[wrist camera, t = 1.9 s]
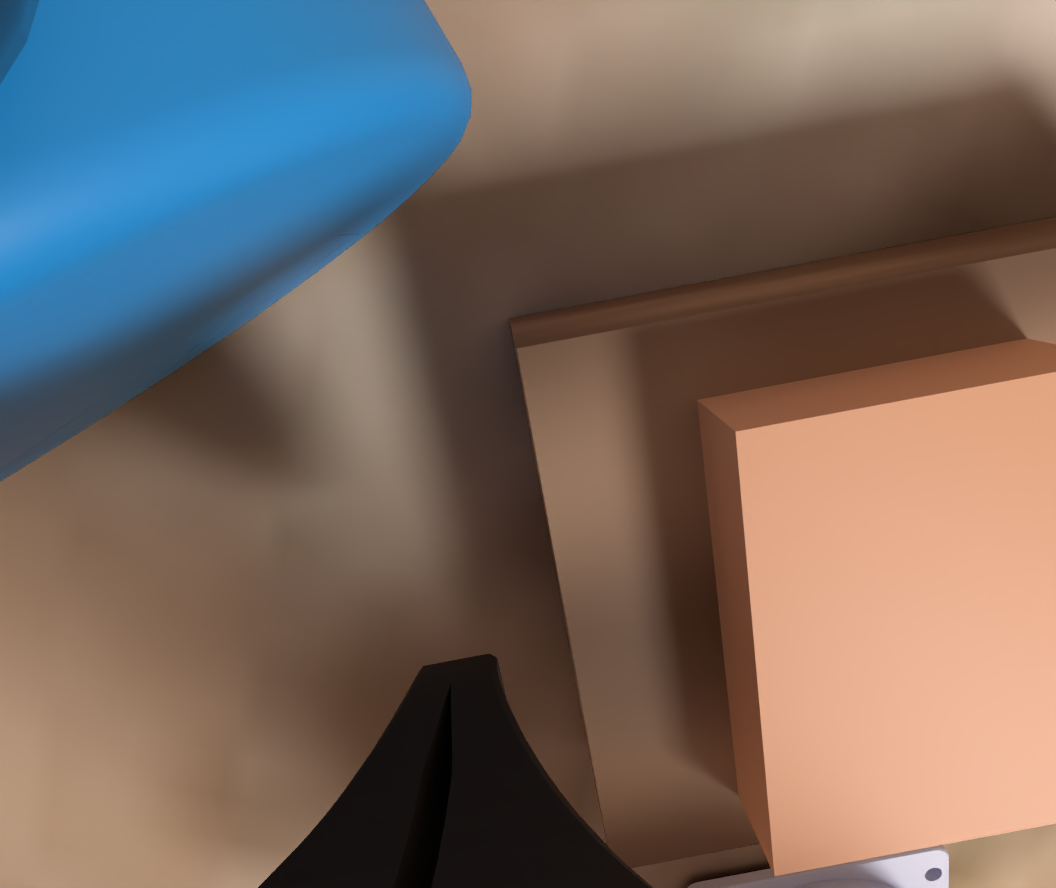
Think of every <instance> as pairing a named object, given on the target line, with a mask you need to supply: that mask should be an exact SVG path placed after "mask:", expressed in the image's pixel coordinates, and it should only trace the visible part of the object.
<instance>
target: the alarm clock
mask: <svg viewBox="0 0 1056 888" xmlns="http://www.w3.org/2000/svg"><path fill="white" fill-rule="evenodd" d="M470 114H471V87H470V85H469V82H468V79H467V77H466V74H465V71H464V69H463V66H462V63H461V61H460V60H459V58H458V56H457V55H456V53H455V51H454V50H453V48H452V46H451V45H450V43H449V41H448V40H447V38H446V36H445V34H444V33H443V31H442V29H441V28H440V26H439V24H438V23H437V21H436V19H435V18H434V16H433V14H432V12H431V11H430V9H429V7H428V6H427V4H426V2H425V1H424V0H0V481H1V480H3V479H5V478H6V477H8V476H10V475H11V474H13V473H15V472H16V471H18V470H19V469H21V468H23V467H24V466H26V465H28V464H29V463H31V462H33V461H34V460H36V459H37V458H39V457H41V456H42V455H44V454H45V453H47V452H49V451H50V450H52V449H54V448H55V447H57V446H58V445H60V444H62V443H63V442H65V441H66V440H68V439H70V438H71V437H73V436H74V435H76V434H78V433H79V432H81V431H82V430H84V429H86V428H87V427H89V426H90V425H92V424H93V423H95V422H97V421H98V420H100V419H101V418H103V417H105V416H106V415H108V414H109V413H111V412H112V411H114V410H116V409H117V408H119V407H120V406H122V405H123V404H125V403H126V402H128V401H130V400H131V399H133V398H134V397H136V396H137V395H139V394H140V393H142V392H143V391H145V390H147V389H148V388H150V387H151V386H153V385H154V384H156V383H157V382H159V381H160V380H162V379H163V378H165V377H166V376H168V375H169V374H171V373H172V372H174V371H176V370H177V369H179V368H180V367H182V366H183V365H185V364H186V363H188V362H189V361H191V360H192V359H194V358H195V357H197V356H198V355H200V354H201V353H203V352H204V351H206V350H207V349H208V348H210V347H211V346H213V345H214V344H216V343H217V342H219V341H220V340H222V339H223V338H225V337H226V336H228V335H229V334H231V333H232V332H233V331H235V330H236V329H238V328H239V327H241V326H242V325H244V324H245V323H246V322H248V321H249V320H251V319H252V318H254V317H255V316H257V315H258V314H259V313H261V312H262V311H264V310H265V309H266V308H268V307H269V306H271V305H272V304H274V303H275V302H276V301H278V300H279V299H281V298H282V297H283V296H285V295H286V294H288V293H289V292H290V291H292V290H293V289H294V288H296V287H297V286H299V285H300V284H301V283H303V282H304V281H305V280H307V279H308V278H309V277H311V276H312V275H314V274H315V273H316V272H318V271H319V270H320V269H322V268H323V267H324V266H326V265H327V264H328V263H330V262H331V261H332V260H334V259H335V258H336V257H337V256H339V255H340V254H341V253H343V252H344V251H345V250H347V249H348V248H349V247H350V246H352V245H353V244H354V243H355V242H357V241H358V240H359V239H360V238H362V237H363V236H364V235H366V234H367V233H368V232H369V231H370V230H372V229H373V228H374V227H375V226H377V225H378V224H379V223H380V222H381V221H383V220H384V219H385V218H386V217H387V216H388V215H390V214H391V213H392V212H393V211H394V210H395V209H397V208H398V207H399V206H400V205H401V204H402V203H403V202H404V201H406V200H407V199H408V198H409V197H410V196H411V195H412V194H413V193H414V192H415V191H416V190H417V189H418V188H419V187H420V186H421V185H422V184H424V183H425V182H426V181H427V180H428V179H429V178H430V177H431V176H432V175H433V173H434V172H435V171H436V170H437V169H438V168H439V167H440V166H441V165H442V164H443V163H444V162H445V160H446V159H447V158H448V157H449V156H450V154H451V153H452V152H453V151H454V149H455V148H456V146H457V145H458V143H459V142H460V140H461V138H462V136H463V133H464V131H465V129H466V126H467V124H468V121H469V118H470Z"/></svg>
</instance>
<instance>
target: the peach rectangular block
mask: <svg viewBox="0 0 1056 888" xmlns="http://www.w3.org/2000/svg"><path fill="white" fill-rule="evenodd" d="M697 404H698V414H699V424H700V433H701V443H702V452H703V462H704V471H705V481H706V491H707V500H708V510H709V519H710V529H711V539H712V548H713V558H714V567H715V577H716V587H717V596H718V606H719V615H720V625H721V634H722V644H723V654H724V663H725V673H726V682H727V692H728V702H729V711H730V721H731V730H732V740H733V750H734V759H735V769H736V778H737V788H738V795H739V797H740V800H741V802H742V804H743V806H744V809H745V811H746V813H747V815H748V818H749V820H750V822H751V824H752V827H753V829H754V831H755V833H756V836H757V838H758V840H759V842H760V845H761V847H762V849H763V851H764V854H765V856H766V858H767V860H768V863H769V865H770V867H771V869H772V872H773V874H774V876H779V875H784V874H790V873H795V872H800V871H806V870H811V869H816V868H821V867H827V866H832V865H837V864H843V863H848V862H853V861H859V860H864V859H869V858H875V857H880V856H885V855H891V854H896V853H901V852H906V851H912V850H917V849H922V848H928V847H933V846H938V845H944V844H949V843H954V842H960V841H965V840H970V839H975V838H981V837H986V836H991V835H997V834H1002V833H1007V832H1013V831H1018V830H1023V829H1029V828H1034V827H1039V826H1045V825H1050V824H1055V823H1056V344H1052V343H1047V342H1042V341H1037V340H1033V339H1028V338H1026V339H1021V340H1016V341H1010V342H1005V343H1000V344H994V345H989V346H983V347H978V348H973V349H967V350H962V351H957V352H951V353H946V354H941V355H935V356H930V357H924V358H919V359H914V360H908V361H903V362H898V363H892V364H887V365H882V366H876V367H871V368H866V369H860V370H855V371H849V372H844V373H839V374H833V375H828V376H823V377H817V378H812V379H807V380H801V381H796V382H791V383H785V384H780V385H774V386H769V387H764V388H758V389H753V390H748V391H742V392H737V393H732V394H726V395H721V396H716V397H710V398H705V399H699V400H697Z"/></svg>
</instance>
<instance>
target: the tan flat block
mask: <svg viewBox="0 0 1056 888" xmlns="http://www.w3.org/2000/svg"><path fill="white" fill-rule="evenodd" d="M509 321H510V326H511V332H512V337H513V342H514V348H515V353H516V359H517V364H518V370H519V375H520V380H521V386H522V391H523V397H524V402H525V408H526V413H527V419H528V424H529V429H530V435H531V440H532V446H533V451H534V457H535V462H536V467H537V473H538V478H539V484H540V489H541V495H542V500H543V506H544V511H545V516H546V522H547V527H548V533H549V538H550V544H551V549H552V554H553V560H554V565H555V571H556V576H557V582H558V587H559V593H560V598H561V603H562V609H563V614H564V620H565V625H566V631H567V636H568V641H569V647H570V652H571V658H572V663H573V669H574V674H575V680H576V685H577V690H578V696H579V701H580V707H581V712H582V718H583V723H584V728H585V734H586V739H587V745H588V750H589V755H590V760H591V765H592V770H593V775H594V780H595V785H596V791H597V796H598V801H599V806H600V811H601V816H602V821H603V826H604V831H605V836H606V842H607V846H608V847H609V848H610V849H611V850H612V851H613V852H614V853H615V854H616V855H617V856H618V857H619V858H620V859H622V860H623V861H624V862H625V863H626V864H627V865H628V866H629V867H630V868H633V867H638V866H644V865H649V864H654V863H660V862H665V861H670V860H675V859H681V858H686V857H691V856H697V855H702V854H707V853H713V852H718V851H723V850H729V849H734V848H739V847H745V846H750V845H755V844H760V842H759V840H758V838H757V836H756V833H755V831H754V829H753V827H752V824H751V822H750V820H749V818H748V815H747V813H746V811H745V809H744V806H743V804H742V802H741V800H740V797H739V795H738V788H737V778H736V769H735V759H734V750H733V740H732V730H731V721H730V711H729V702H728V692H727V682H726V673H725V663H724V654H723V644H722V634H721V625H720V615H719V606H718V596H717V587H716V577H715V567H714V558H713V548H712V539H711V529H710V519H709V510H708V500H707V491H706V481H705V471H704V462H703V452H702V443H701V433H700V424H699V414H698V404H697V400H699V399H705V398H710V397H716V396H721V395H726V394H732V393H737V392H742V391H748V390H753V389H758V388H764V387H769V386H774V385H780V384H785V383H791V382H796V381H801V380H807V379H812V378H817V377H823V376H828V375H833V374H839V373H844V372H849V371H855V370H860V369H866V368H871V367H876V366H882V365H887V364H892V363H898V362H903V361H908V360H914V359H919V358H924V357H930V356H935V355H941V354H946V353H951V352H957V351H962V350H967V349H973V348H978V347H983V346H989V345H994V344H1000V343H1005V342H1010V341H1016V340H1021V339H1026V338H1028V339H1033V340H1037V341H1042V342H1047V343H1052V344H1056V217H1052V218H1047V219H1042V220H1036V221H1031V222H1025V223H1020V224H1015V225H1009V226H1004V227H999V228H993V229H988V230H983V231H977V232H972V233H966V234H961V235H956V236H950V237H945V238H940V239H934V240H929V241H923V242H918V243H913V244H907V245H902V246H897V247H891V248H886V249H881V250H875V251H870V252H864V253H859V254H854V255H848V256H843V257H838V258H832V259H827V260H821V261H816V262H811V263H805V264H800V265H795V266H789V267H784V268H778V269H773V270H768V271H762V272H757V273H752V274H746V275H741V276H736V277H730V278H725V279H719V280H714V281H709V282H703V283H698V284H693V285H687V286H682V287H676V288H671V289H666V290H660V291H655V292H650V293H644V294H639V295H634V296H628V297H623V298H617V299H612V300H607V301H601V302H596V303H591V304H585V305H580V306H574V307H569V308H564V309H558V310H553V311H548V312H542V313H537V314H531V315H526V316H521V317H515V318H510V319H509Z"/></svg>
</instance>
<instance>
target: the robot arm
mask: <svg viewBox="0 0 1056 888" xmlns="http://www.w3.org/2000/svg"><path fill="white" fill-rule="evenodd" d="M258 888H653V887H652V886H651V885H649V884H648V883H647V882H646V881H645V880H644V879H643V878H641V877H640V876H639V875H638V874H637V873H636V872H634V871H633V870H632V869H631V868H630V867H629V866H628V865H627V864H626V863H625V862H624V861H623V860H622V859H620V858H619V857H618V856H617V855H616V854H615V853H614V852H613V851H612V850H611V849H610V848H609V847H608V846H607V845H606V844H605V843H604V842H603V841H602V839H601V838H600V837H599V836H598V835H597V834H596V833H595V832H594V831H593V830H592V829H591V828H590V826H589V825H588V824H587V823H586V822H585V821H584V820H583V819H582V818H581V817H580V816H579V815H578V813H577V812H576V811H575V810H574V808H573V807H572V806H571V805H570V803H569V802H568V801H567V800H566V798H565V797H564V796H563V795H562V793H561V792H560V791H559V789H558V788H557V787H556V785H555V784H554V782H553V781H552V780H551V778H550V777H549V776H548V774H547V773H546V771H545V770H544V768H543V767H542V765H541V764H540V762H539V760H538V759H537V757H536V756H535V754H534V752H533V751H532V749H531V747H530V746H529V744H528V742H527V741H526V739H525V737H524V735H523V733H522V731H521V730H520V728H519V726H518V723H517V721H516V719H515V717H514V715H513V713H512V711H511V709H510V707H509V705H508V702H507V700H506V695H505V691H504V686H503V682H502V677H501V673H500V668H499V664H498V659H497V658H496V657H495V656H493V655H491V654H485V655H480V656H474V657H469V658H464V659H458V660H453V661H448V662H443V663H437V664H432V665H427V666H423V667H422V669H421V670H420V671H419V673H418V675H417V676H416V678H415V680H414V682H413V683H412V685H411V687H410V689H409V691H408V692H407V694H406V696H405V698H404V699H403V701H402V703H401V705H400V706H399V708H398V710H397V712H396V713H395V715H394V717H393V718H392V720H391V722H390V723H389V725H388V726H387V728H386V730H385V731H384V733H383V734H382V736H381V738H380V739H379V741H378V742H377V744H376V746H375V747H374V749H373V750H372V752H371V753H370V755H369V756H368V758H367V759H366V761H365V762H364V763H363V765H362V766H361V768H360V769H359V771H358V772H357V773H356V775H355V776H354V778H353V779H352V781H351V782H350V783H349V785H348V786H347V788H346V789H345V790H344V792H343V793H342V794H341V796H340V797H339V798H338V800H337V801H336V802H335V804H334V805H333V806H332V807H331V809H330V810H329V811H328V812H327V814H326V815H325V816H324V817H323V819H322V820H321V821H320V822H319V823H318V824H317V826H316V827H315V828H314V829H313V830H312V832H311V833H310V834H309V835H308V836H307V837H306V838H305V839H304V841H303V842H302V843H301V844H300V845H299V846H298V847H297V848H296V849H295V850H294V851H293V852H292V853H291V854H290V855H289V856H288V857H287V858H286V859H285V860H284V861H283V862H282V863H281V865H280V866H279V867H278V868H277V869H276V870H275V871H274V872H273V873H272V874H271V875H270V876H269V877H268V878H267V879H266V880H265V881H264V882H263V883H262V884H261V885H260V886H259V887H258ZM687 888H949V856H948V852H947V851H946V850H945V848H944V847H943V846H942V845H938V846H933V847H928V848H922V849H917V850H912V851H906V852H901V853H896V854H891V855H885V856H880V857H875V858H869V859H864V860H859V861H853V862H848V863H843V864H837V865H832V866H827V867H821V868H816V869H811V870H806V871H800V872H795V873H790V874H784V875H779V876H774V874H773V872H772V869H771V868H770V869H764V870H759V871H754V872H748V873H743V874H738V875H732V876H727V877H722V878H716V879H711V880H706V881H700V882H696V883H693V884H691V885H690V886H688V887H687Z"/></svg>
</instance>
